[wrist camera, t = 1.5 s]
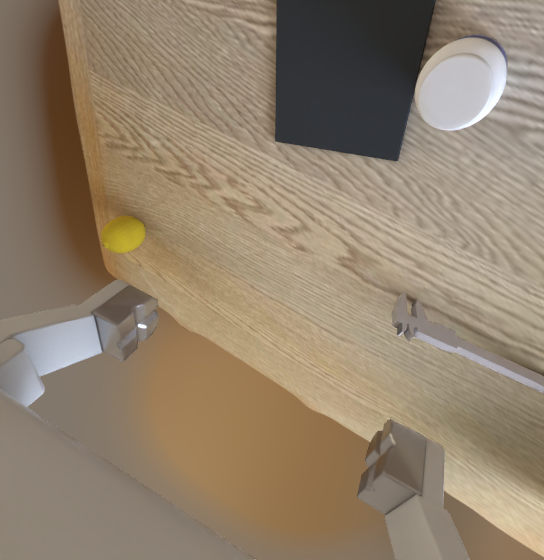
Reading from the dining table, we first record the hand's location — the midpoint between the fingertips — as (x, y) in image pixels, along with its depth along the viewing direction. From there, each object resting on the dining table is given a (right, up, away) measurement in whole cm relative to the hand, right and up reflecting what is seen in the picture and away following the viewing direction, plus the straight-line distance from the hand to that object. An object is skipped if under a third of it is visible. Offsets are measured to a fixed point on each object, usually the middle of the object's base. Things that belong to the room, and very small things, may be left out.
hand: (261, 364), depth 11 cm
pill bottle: (+15, +19, +15) cm, 29 cm away
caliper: (+24, -4, +27) cm, 36 cm away
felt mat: (+7, +24, +17) cm, 30 cm away
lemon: (-21, +12, +46) cm, 52 cm away
